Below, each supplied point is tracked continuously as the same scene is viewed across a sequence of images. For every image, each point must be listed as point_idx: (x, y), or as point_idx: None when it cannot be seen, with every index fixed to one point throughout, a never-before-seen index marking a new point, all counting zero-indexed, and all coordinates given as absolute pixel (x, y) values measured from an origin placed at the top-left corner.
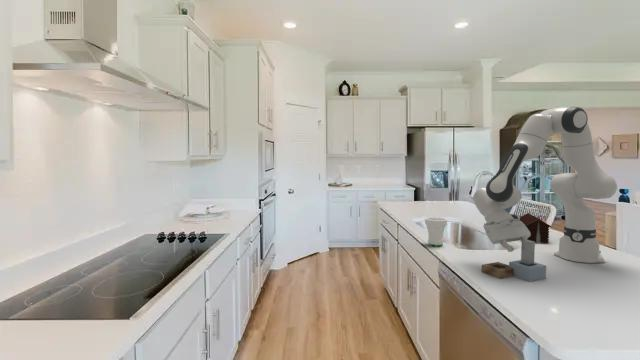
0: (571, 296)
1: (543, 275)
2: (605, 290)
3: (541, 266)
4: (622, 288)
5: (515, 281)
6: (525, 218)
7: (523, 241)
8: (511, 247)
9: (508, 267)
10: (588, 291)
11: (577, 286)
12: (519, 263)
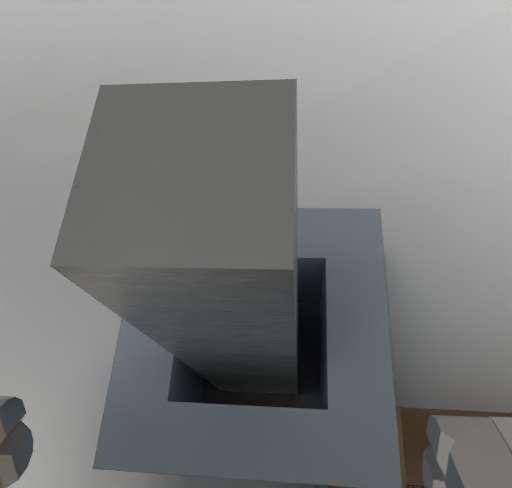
0: (356, 35)
1: None
2: (112, 30)
3: None
4: (14, 22)
5: (472, 312)
6: None
7: (293, 220)
8: (493, 452)
9: (411, 471)
10: (200, 46)
11: None
12: (328, 373)
